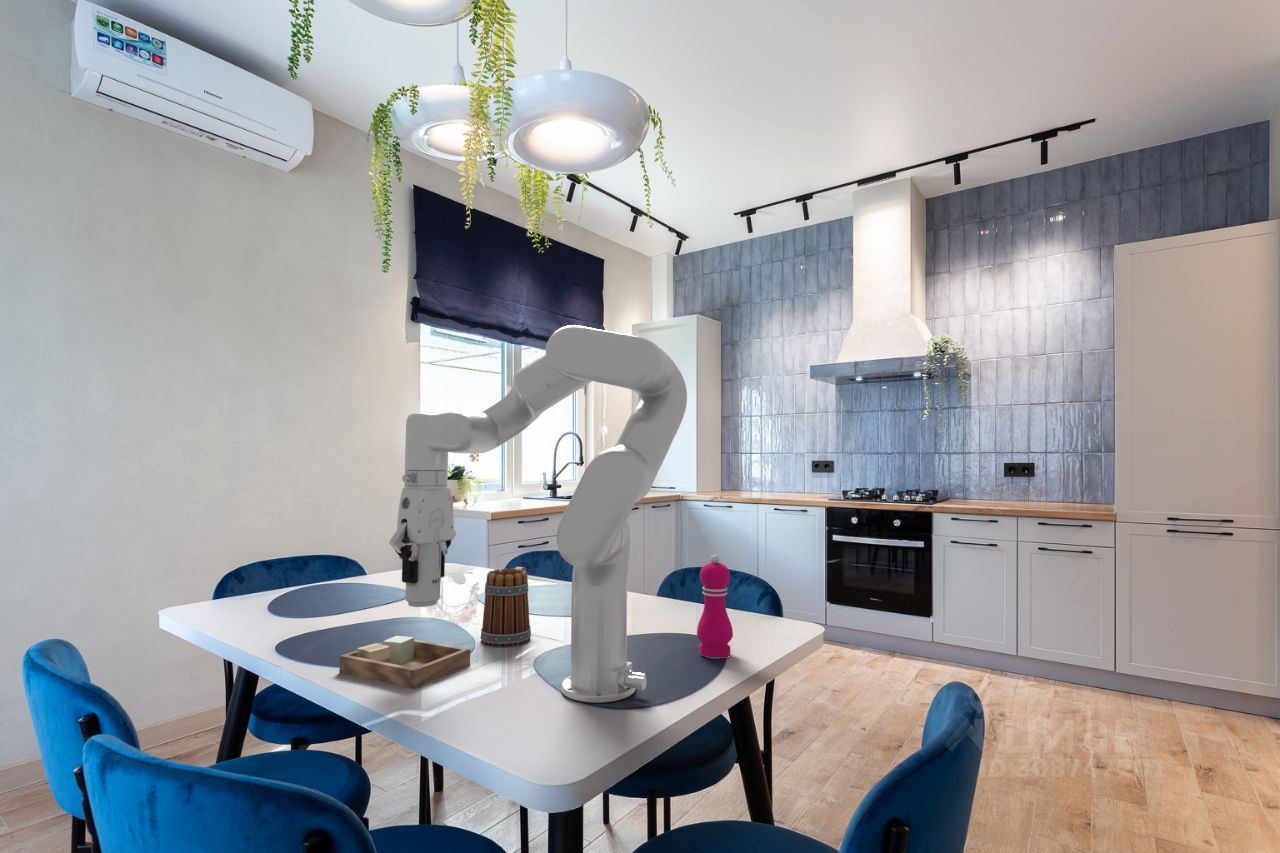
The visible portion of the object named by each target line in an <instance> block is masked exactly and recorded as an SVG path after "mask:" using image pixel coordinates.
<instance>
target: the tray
mask: <svg viewBox="0 0 1280 853" xmlns="http://www.w3.org/2000/svg"><path fill="white" fill-rule="evenodd" d="M377 643H378V644H382V645H383V641H382V642H381V641H380V642H377ZM469 666H471V648H467V647H461V646H455V645H450V644H443V643H437V642H432V641H425V640H421V639H415V638H414V658H413V659H411V660H409V661H407V662H405V663H403V664H401V665H400V664H391V663H386V662H381V661H376V660H371V659H366V658H360V657H357V649H356V650H354V651H350V652H347V653H344V654H341V655H339V671H338V672H339V674H341V675H348V676H352V677H355V678H360V679H361V678H362V679H366V680H371V681H375V682H379V683H385V684H388V685H393V686H398V687H403V688H406V689H407V688H408V689H412V690H416V689H418V688H420V687H423V686H425V685H428V684H430V683H432V682H435V681H437V680H440V679H441V678H444V677H446V676H448V675H452V674H453V673H456V672H458V671H460V670H463V669H465V668H467V667H469Z"/></svg>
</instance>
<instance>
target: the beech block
mask: <svg viewBox="0 0 1280 853" xmlns="http://www.w3.org/2000/svg"><path fill="white" fill-rule="evenodd" d="M378 643H379V642H375V643H371V644H368V645H365V646H361V647H357V648H356V650H357V657H360V658H366V659H371V660H376V661H381V662H386V663H390V647H389V646H386V645H382V644H378Z"/></svg>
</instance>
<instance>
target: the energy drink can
mask: <svg viewBox="0 0 1280 853" xmlns="http://www.w3.org/2000/svg"><path fill="white" fill-rule="evenodd" d="M409 542H411V541H410V539H409ZM411 548H412V546H409V551H411ZM415 560H417V561H418V581H417V583H415V584H412V583H405V594H404V596H405V599H404V600H405V601H406V602H408V606H409V607H414V608H423V607H424V608H427V607H432V606H435V605H437V604H438V601H439V599H441V579H442V577H441V541H440V531H439V529H438V530H435V531H434V535H433V542H431V543H429V544H425V545H419V549H418V552H417V555H416V559H415Z"/></svg>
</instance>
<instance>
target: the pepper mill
mask: <svg viewBox="0 0 1280 853" xmlns="http://www.w3.org/2000/svg"><path fill="white" fill-rule="evenodd" d="M710 561H711V562H708V563H706V564H705V565H703V566H702V568H701V569H700V573H699V579H700V582H701V583H702V584H703V586H702V592H701V593H702V594H703V596H704V605H703V606H704V607H703V611H702V613H701V615H700V619H699V620H698V624H697V627H696V628H697V629H696V636H697V638H698V640H699V641H700V642H701V643H700V644H699V647H698V651H699V652H700V654H702V655H704V656H708V657H728V656H729V657H731V646H730V645H729V643H730V642H731V640H733V636H734V632H733V629H734V628H733V627H732V623H731V620H730V617H729V615H728V612H727V607H726V596H727V595H728V587H727V585H728V583H729V581H730V578H731V575H730V570H729V568H728V567H727V566H726V565H725V564H723V563H722V562H720V556H718V554H713V555H711V556H710ZM699 652H698V653H699ZM700 654H699V655H700ZM729 657H728V658H729Z"/></svg>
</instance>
